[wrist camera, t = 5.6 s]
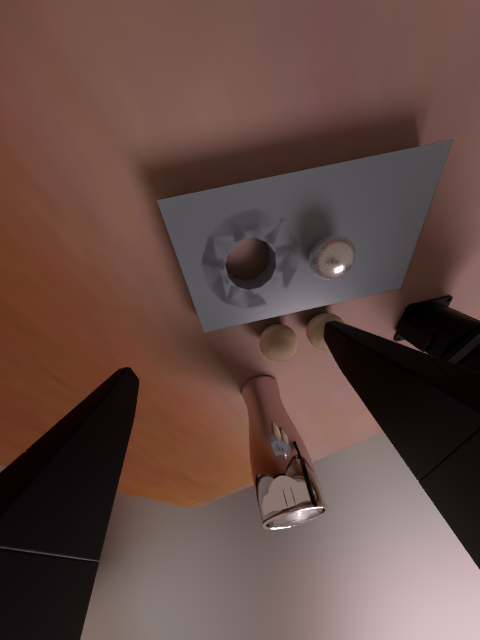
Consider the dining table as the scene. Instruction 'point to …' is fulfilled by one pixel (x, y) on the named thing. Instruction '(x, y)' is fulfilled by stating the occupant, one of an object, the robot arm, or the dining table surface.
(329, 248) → the steel ball
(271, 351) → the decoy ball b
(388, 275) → the plate
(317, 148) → the dining table surface
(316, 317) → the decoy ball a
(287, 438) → the beer glass
